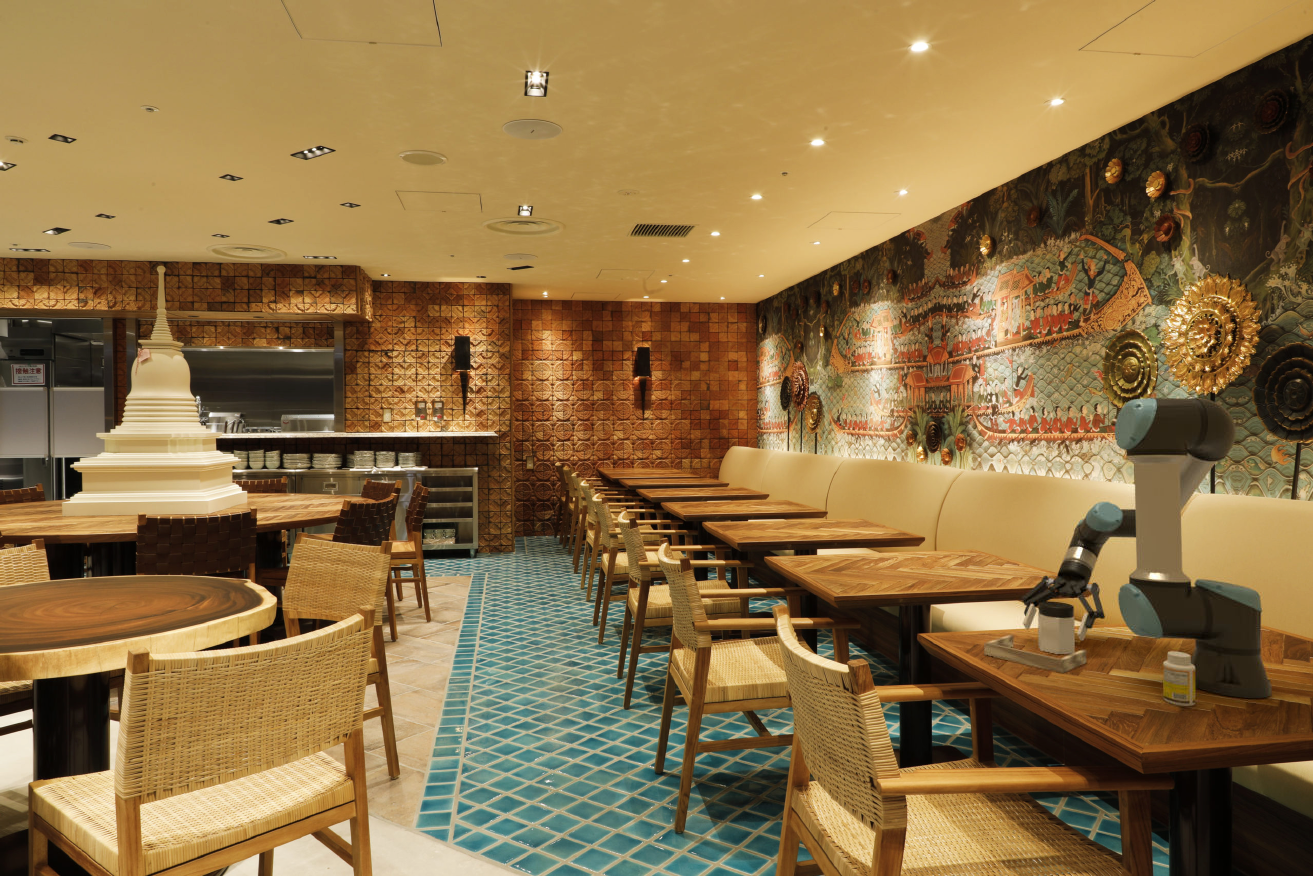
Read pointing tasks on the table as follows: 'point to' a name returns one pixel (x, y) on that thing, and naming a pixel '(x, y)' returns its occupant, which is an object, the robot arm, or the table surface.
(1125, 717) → the table surface
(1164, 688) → the supplement bottle
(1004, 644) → the corral
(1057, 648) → the jar
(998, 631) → the table surface
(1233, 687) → the robot arm
